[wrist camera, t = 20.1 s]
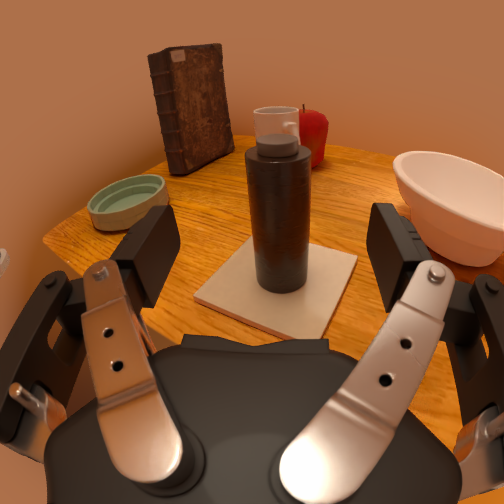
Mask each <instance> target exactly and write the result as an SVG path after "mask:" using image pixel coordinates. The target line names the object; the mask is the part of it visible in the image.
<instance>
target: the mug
mask: <svg viewBox="0 0 504 504" xmlns="http://www.w3.org/2000/svg"><path fill="white" fill-rule="evenodd" d="M254 124H255V134H256V139H257V138H258V137H260V136H263V135H268V134H290V135H294V136H296V137H298V142H299V145H301V143H300V137H299V109H297V108H293V107H265V108H259V109H256V110H254Z"/></svg>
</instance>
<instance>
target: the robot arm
mask: <svg viewBox="0 0 504 504" xmlns="http://www.w3.org/2000/svg"><path fill="white" fill-rule="evenodd" d="M366 245H367V252H368V255H369V258H370V261H371V264H372V267H373V270H374V273H375V277H376V280H377V283H378V286H379V290H380V293H381V297H382V300H383V304H384V307H385V311H386V313H390V314H389V315H388V317H387V319H386V320H385V322H384V323H383V325H382V327H381V328H380V330H379V332H378V333H377V335H376V336H375V338H374V339H373V341H372V343H371V344H370V346H369V347H368V349H367V350H366V352H365V353H364V355H363V356H362V357H361V359H360V360H359V361H357V360H356V359H354V358H352V357H351V356H348V355H346V354H344V353H341V352H338V351H335V350H330V349H329V339H290V340H285V341H280V342H275V343H270V344H264V345H259V346H250V345H246V344H242V343H239V342H235V341H231V340H228V339H224V338H221V337H218V336H203V335H190V334H184V336H183V339H182V342H181V344H179V345H175V346H170V347H167V348H165V349H162V350H160V351H158V352H157V351H156V349H155V347H154V344H153V342H152V340H151V337H150V335H149V332H148V330H147V327H146V325H145V322H144V320H143V317H142V315H141V313H140V311H141V309H142V307H144V308H154V306H155V304H156V302H157V299H158V297H159V295H160V292H161V290H162V288H163V285H164V283H165V281H166V279H167V276H168V274H169V272H170V270H171V267H172V265H173V263H174V261H175V259H176V256H177V254H178V252H179V249H180V235H179V231H178V227H177V224H176V220H175V216H174V212H173V208H172V207H171V206H170V205H160V206H152V207H151V208H150V210H149V211H148V213H147V214H146V215H145V217H144V218H141V219H140V220H139V221H137V222H136V223H135V224H134V225H132V227H131V228H130V230H129V231H128V232H127V234H126V235H125V237H124V238H123V240H122V241H121V242H120V244H119V245H118V246H117V248H116V249H115V251H114V252H113V254H112V255H111V257H110V258H109V259H107V260H101V261H99V262H96V263H94V264H93V265H91V266H90V267H89V268H88V269H87V270H86V271H85V273H84V275H83V278H80V279H75V280H71V281H69V279H68V277H67V276H66V274H65V272H63V271H55V272H52V273H50V274H48V275H47V276H46V277H45V278H43V279H42V281H41V282H40V283H39V285H38V286H37V288H36V289H35V291H34V292H33V294H32V296H31V297H30V299H29V300H28V302H27V303H26V305H25V307H24V308H23V310H22V312H21V313H20V315H19V317H18V319H17V320H16V322H15V324H14V326H13V327H12V329H11V331H10V333H9V334H8V336H7V338H6V340H5V342H4V344H3V346H2V348H1V350H0V443H1V444H3V445H4V446H6V447H8V448H9V449H11V450H13V451H15V452H17V453H19V454H21V455H23V456H27V457H28V458H30V459H33V460H34V461H37V462H39V463H42V464H44V467H45V473H46V481H47V504H457V503H458V501H460V500H463V499H466V498H469V497H471V496H474V495H477V494H482V493H486V492H489V491H492V490H495V489H498V488H501V487H503V486H504V285H503V284H502V283H501V282H500V281H499V280H498V279H497V278H495V277H493V276H491V275H488V274H480V275H478V276H477V277H476V279H475V281H474V283H473V285H472V284H468V283H464V282H460V281H457V280H455V277H454V275H453V273H452V271H451V270H450V269H449V268H448V267H447V266H445V265H444V264H442V263H440V262H437V261H434V260H433V258H432V256H431V254H430V253H429V251H428V249H427V247H426V245H425V244H424V242H423V240H421V237H420V235H419V233H417V230H416V228H415V227H414V225H413V223H411V222H410V221H409V220H408V219H406V218H405V217H404V216H399V214H398V213H397V211H396V209H395V208H394V206H393V204H391V203H373V205H372V208H371V214H370V220H369V226H368V232H367V240H366ZM0 258H1V253H0ZM55 320H57V321H58V322H59V324H60V325H61V326H62V328H63V329H62V330H61V332H60V334H59V336H58V339H57V341H56V343H55V345H54V347H53V349H51V348H50V347H49V345H48V341H47V337H48V333H49V331H50V329H51V327H52V325H53V323H54V322H55ZM483 334H484V335H485V338H486V341H487V344H488V347H489V357H488V359H487V356H486V352H485V349H484V346H483V343H482V340H481V337H482V336H483ZM438 341H444V342H446V346H447V349H448V353H449V357H450V361H451V365H452V370H453V374H454V378H455V383H456V388H457V393H458V399H459V404H460V411H461V417H462V424H463V428H462V429H461V430H460V432H459V434H458V436H457V440H456V445H455V447H454V450H453V453H454V455H453V453H452V452H451V451H450V450H449V449H448V448H447V447H446V446H445V445H444V444H443V443H442V442H441V441H440V440H439V439H438V438H437V437H436V436H435V435H434V434H433V433H432V432H431V431H430V430H429V429H428V428H427V427H426V426H425V425H424V424H423V423H422V422H421V421H420V420H419V419H418V418H417V417H416V416H415V415H414V414H413V413H412V412H411V411H410V410H409V409H408V407H409V405H410V403H411V401H412V399H413V397H414V395H415V393H416V391H417V389H418V387H419V385H420V383H421V381H422V379H423V377H424V374H425V372H426V370H427V368H428V365H429V363H430V361H431V358H432V356H433V354H434V351H435V349H436V346H437V344H438ZM86 353H87V357H88V362H89V367H90V371H91V376H92V380H93V384H94V388H95V392H96V396H97V397H96V398H94V399H93V400H92V401H90V402H89V403H88V404H87V405H85V406H84V407H82V408H81V409H80V410H78V411H77V412H76V413H74V414H73V415H72V416H70V417H69V418H68V419H66V411H65V410H66V407H67V404H68V401H69V398H70V396H71V393H72V390H73V387H74V384H75V382H76V378H77V376H78V374H79V371H80V368H81V366H82V363H83V361H84V358H85V356H86Z"/></svg>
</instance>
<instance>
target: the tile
mask: <svg viewBox="0 0 504 504" xmlns="http://www.w3.org/2000/svg"><path fill="white" fill-rule="evenodd" d="M357 259H358V256H356V255H352V254H349V253H345V252H342V251H338V250H334V249H331V248H327V247H323V246H320V245H316V244H312V243H309V255H308V273H307V280H306V282H305V284H304V285H303V286H302V287H301V288H300V289H298V290H296V291H294V292H291V293H286V294H277V293H272V292H269V291H267V290H265V289H263V288H262V287H261V286H260V285H259V283H258V282H257V278H256V268H255V257H254V247H253V236H251V237H250V238H249V239H248V240H247V241H246V242H245V243H244V244H243V245H242V246H241V247H240V248H239V249H238V250H237V251H236V252H235V253H234V254H233V255H232V256H231V257H230V258H229V259H228V260H227V261H226V262H225V263H224V264H223V265H222V266H221V267H220V268H219V269H218V270H217V271H216V272H215V273H214V274H213V275H212V276H211V277H210V278H209V279H208V280H207V281H206V282H205V283H204V284H203V285H202V287H201V288H200V289H199V290H198V291H197V292H196V293H195V294H194V295H193V297H194V300H195V301H196V302H198V303H200V304H202V305H204V306H207V307H209V308H211V309H213V310H216V311H218V312H220V313H222V314H225V315H227V316H229V317H231V318H234V319H236V320H238V321H241V322H243V323H245V324H248V325H250V326H253V327H255V328H257V329H260V330H262V331H265V332H267V333H270V334H272V335H275V336H277V337H280V338H282V339H285V340H290V339H322V337H323V335H324V333H325V331H326V329H327V327H328V325H329V323H330V321H331V318H332V316H333V314H334V312H335V310H336V308H337V306H338V304H339V301H340V299H341V297H342V295H343V293H344V290H345V288H346V286H347V284H348V281H349V279H350V277H351V275H352V272H353V270H354V268H355V265H356V263H357Z"/></svg>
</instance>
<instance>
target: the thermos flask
mask: <svg viewBox="0 0 504 504" xmlns="http://www.w3.org/2000/svg"><path fill="white" fill-rule="evenodd" d="M256 145H257V146H255V147H252V148H250V149H248V150H247V151H246V152H245V163H246V174H247V184H248V195H249V205H250V215H251V226H252V236H253V247H254V257H255V268H256V278H257V282H258V283H259V285H260V286H261V287H262V288H263V289H265V290H267V291H269V292H272V293H277V294H286V293H291V292H294V291H296V290H298V289H300V288H301V287H302V286H303V285H304V284H305V282H306V280H307V273H308V255H309V234H310V204H311V151H310V150H309V149H308V148H307V147H305V146H302V145H299V142H298V137H296V136H294V135H290V134H268V135H263V136H260V137H258V138H257V139H256Z"/></svg>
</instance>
